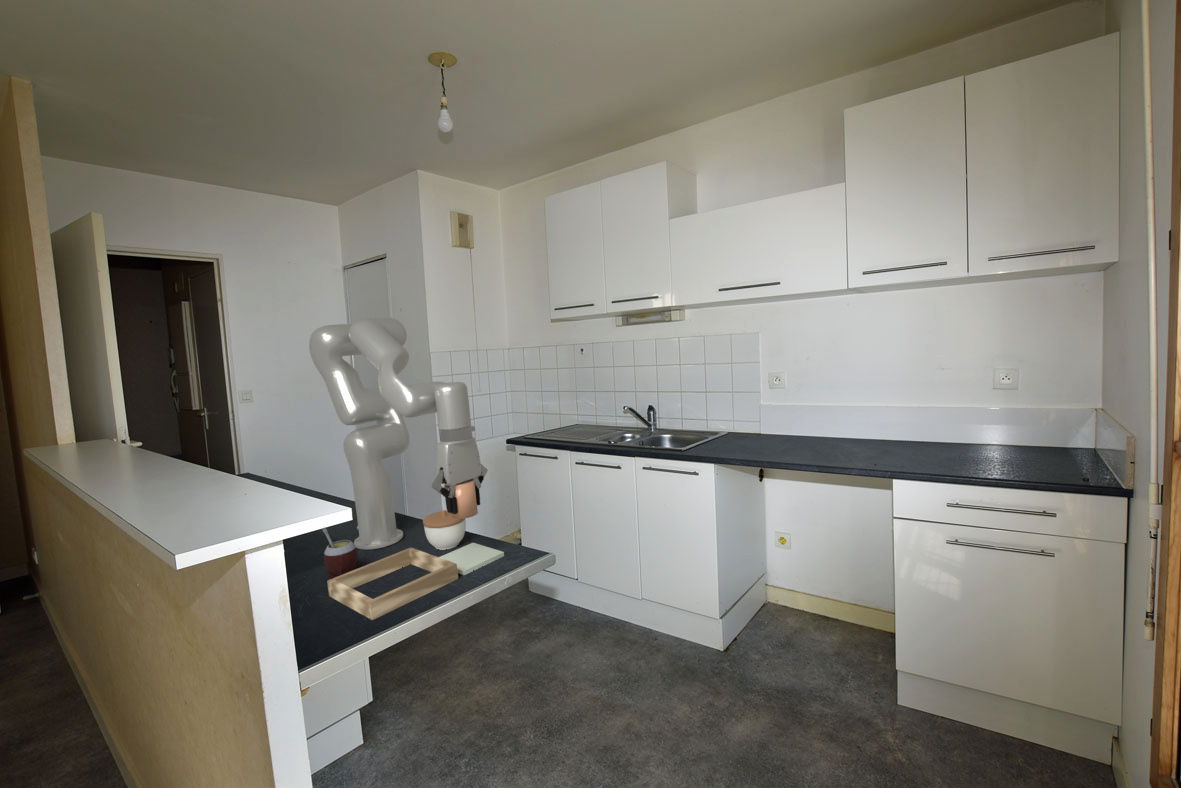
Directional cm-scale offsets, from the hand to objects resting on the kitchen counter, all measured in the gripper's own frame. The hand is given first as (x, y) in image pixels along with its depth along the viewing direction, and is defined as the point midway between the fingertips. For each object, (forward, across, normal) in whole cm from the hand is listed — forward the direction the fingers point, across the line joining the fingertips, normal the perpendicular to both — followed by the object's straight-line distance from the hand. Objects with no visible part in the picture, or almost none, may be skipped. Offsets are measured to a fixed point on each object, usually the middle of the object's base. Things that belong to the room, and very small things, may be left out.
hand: (464, 507), depth 129 cm
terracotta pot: (+2, 0, 0) cm, 2 cm away
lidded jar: (+13, -3, -13) cm, 19 cm away
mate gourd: (+13, +22, -19) cm, 32 cm away
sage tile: (+13, 0, 0) cm, 13 cm away
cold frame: (+13, +18, -3) cm, 22 cm away
